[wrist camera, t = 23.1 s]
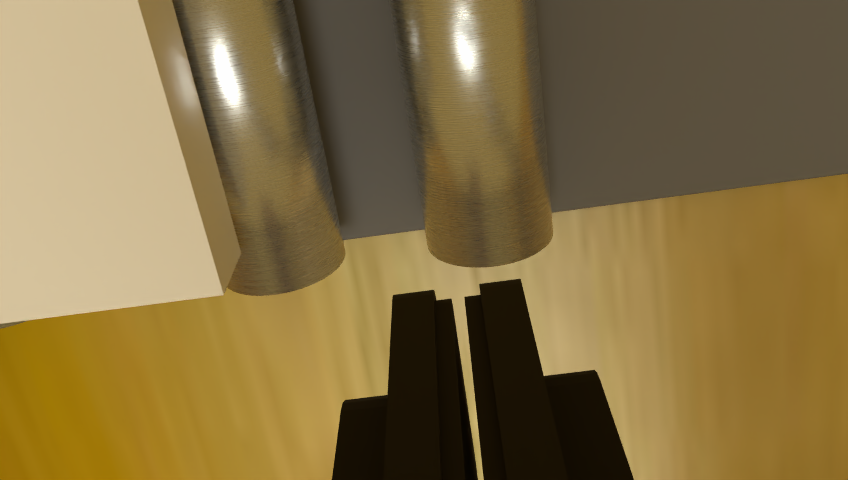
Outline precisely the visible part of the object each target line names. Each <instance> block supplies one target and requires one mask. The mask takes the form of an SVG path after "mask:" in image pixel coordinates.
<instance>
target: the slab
mask: <svg viewBox="0 0 848 480" xmlns="http://www.w3.org/2000/svg"><path fill="white" fill-rule="evenodd" d="M240 255H241V251H240V247H239V243H238V240H237V236H236V232H235V229H234V225H233V221H232V218H231V214H230V210H229V207H228V203H227V199H226V196H225V192H224V188H223V185H222V181H221V178H220V174H219V170H218V167H217V163H216V159H215V156H214V152H213V148H212V145H211V141H210V137H209V134H208V130H207V126H206V123H205V119H204V115H203V112H202V108H201V104H200V101H199V97H198V93H197V90H196V86H195V82H194V79H193V75H192V72H191V68H190V64H189V61H188V57H187V53H186V50H185V46H184V42H183V39H182V35H181V31H180V28H179V24H178V20H177V17H176V13H175V9H174V6H173V2H172V0H0V324H3V323H10V322H18V321H26V320H34V319H41V318H49V317H57V316H65V315H72V314H80V313H88V312H96V311H103V310H111V309H119V308H127V307H134V306H142V305H150V304H157V303H165V302H173V301H181V300H188V299H196V298H204V297H212V296H219V295H224V293H225V291H226V288H227V286H228V283H229V281H230V279H231V276H232V274H233V271H234V269H235V267H236V264H237V262H238V260H239V257H240Z"/></svg>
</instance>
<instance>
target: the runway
mask: <svg viewBox="0 0 848 480" xmlns="http://www.w3.org/2000/svg"><path fill="white" fill-rule="evenodd" d="M293 3H294V8H295V13H296V18H297V22H298V27H299V32H300V37H301V42H302V46H303V51H304V56H305V61H306V66H307V70H308V75H309V80H310V85H311V90H312V94H313V99H314V104H315V109H316V114H317V118H318V123H319V128H320V133H321V138H322V142H323V147H324V152H325V157H326V161H327V166H328V171H329V176H330V181H331V185H332V190H333V195H334V200H335V205H336V209H337V214H338V219H339V224H340V229H341V233H342V238H343V240H347V239H355V238H362V237H370V236H377V235H385V234H393V233H400V232H408V231H415V230H423V229H425V226H424V220H423V213H422V207H421V201H420V194H419V188H418V182H417V175H416V169H415V162H414V156H413V150H412V143H411V137H410V131H409V124H408V118H407V111H406V105H405V99H404V92H403V86H402V80H401V73H400V67H399V60H398V54H397V48H396V41H395V35H394V29H393V22H392V16H391V10H390V3H389V0H293ZM535 9H536V21H537V34H538V47H539V59H540V72H541V85H542V98H543V110H544V123H545V136H546V149H547V161H548V174H549V187H550V199H551V212H559V211H567V210H575V209H582V208H590V207H597V206H605V205H613V204H620V203H628V202H635V201H643V200H651V199H658V198H666V197H673V196H681V195H688V194H696V193H704V192H711V191H719V190H726V189H734V188H742V187H749V186H757V185H764V184H772V183H779V182H787V181H795V180H802V179H810V178H817V177H825V176H833V175H840V174H848V0H535Z"/></svg>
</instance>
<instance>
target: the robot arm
mask: <svg viewBox="0 0 848 480" xmlns="http://www.w3.org/2000/svg"><path fill="white" fill-rule="evenodd" d="M479 285H480V294H481V295H476V296H468V297H465V307H466V316H467V325H468V335H469V344H470V354H471V363H472V372H473V382H474V391H475V401H476V410H477V420H478V429H479V438H480V448H481V457H482V467H483V476H484V480H634V479H633V476H632V473H631V470H630V467H629V464H628V461H627V458H626V455H625V452H624V449H623V446H622V443H621V440H620V437H619V434H618V431H617V428H616V425H615V423H614V420H613V417H612V414H611V411H610V408H609V405H608V402H607V399H606V396H605V393H604V390H603V387H602V384H601V381H600V379H599V376H598V374H597V372H596V371H595V370H591V371H582V372H574V373H566V374H557V375H549V376H544V375H543V371H542V367H541V363H540V359H539V354H538V350H537V346H536V342H535V338H534V333H533V329H532V325H531V321H530V317H529V312H528V308H527V304H526V300H525V295H524V291H523V287H522V283H521V279H515V280H507V281H500V282H492V283H484V284H479ZM332 480H478V477H477V469H476V461H475V454H474V447H473V440H472V433H471V427H470V420H469V413H468V406H467V399H466V393H465V386H464V379H463V372H462V365H461V358H460V352H459V345H458V338H457V331H456V324H455V318H454V311H453V304H452V299H444V300H437V301H436V296H435V292H434V290H429V291H421V292H413V293H406V294H398V295H393V299H392V319H391V339H390V359H389V379H388V395H384V396H375V397H367V398H359V399H351V400H345V401H344V402H343V404H342V408H341V414H340V422H339V430H338V437H337V445H336V453H335V460H334V468H333V476H332Z"/></svg>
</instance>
